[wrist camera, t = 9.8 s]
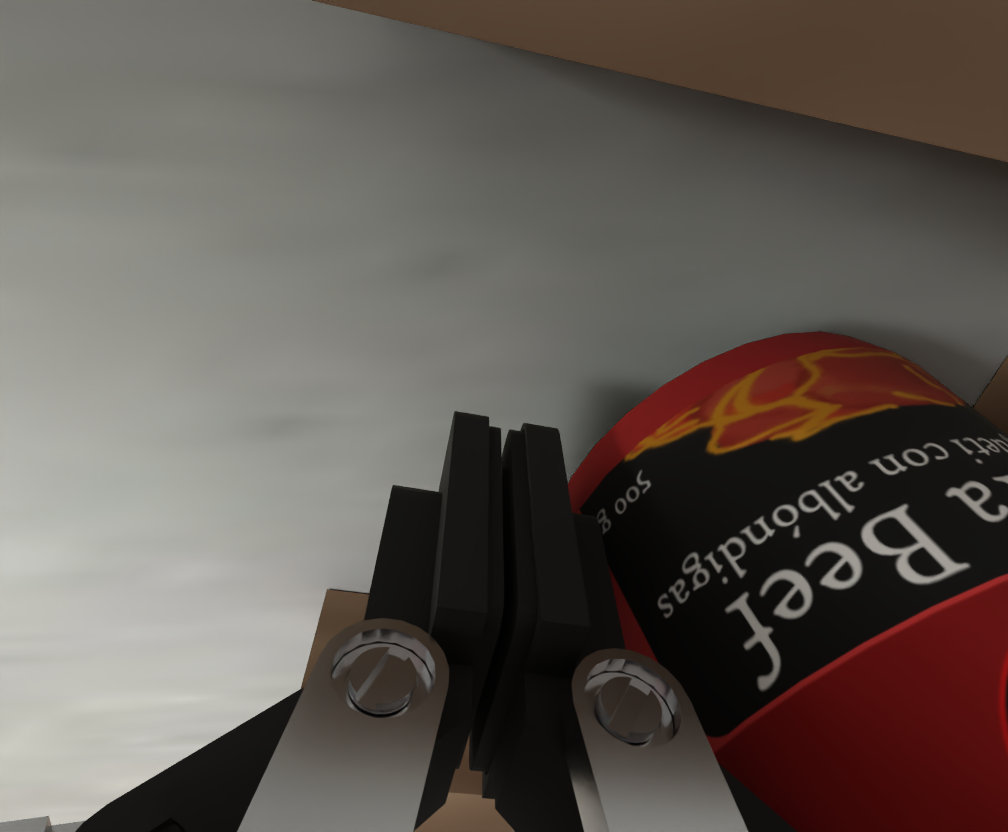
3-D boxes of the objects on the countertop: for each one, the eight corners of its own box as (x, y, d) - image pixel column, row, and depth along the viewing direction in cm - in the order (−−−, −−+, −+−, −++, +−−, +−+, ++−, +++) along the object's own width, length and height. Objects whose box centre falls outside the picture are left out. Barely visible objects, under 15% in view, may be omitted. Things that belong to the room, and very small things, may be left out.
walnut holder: (392, -128, 9) (321, -234, 5) (1270, 101, 11) (1720, 155, 7) (323, 631, 16) (275, 822, 13) (839, 689, 18) (934, 871, 14)
